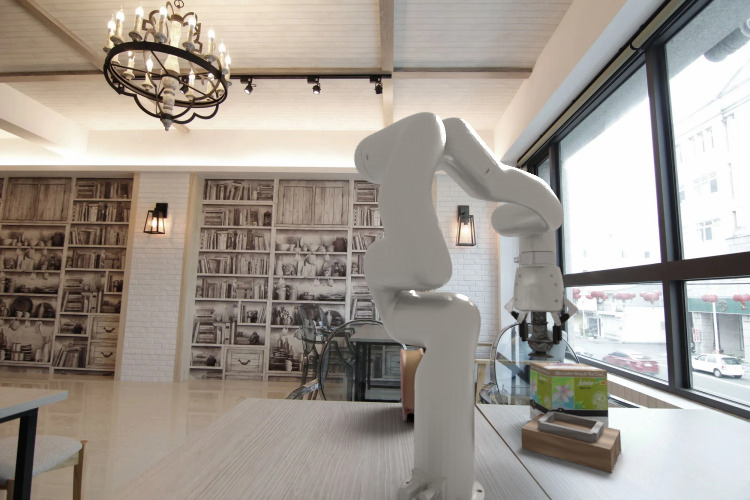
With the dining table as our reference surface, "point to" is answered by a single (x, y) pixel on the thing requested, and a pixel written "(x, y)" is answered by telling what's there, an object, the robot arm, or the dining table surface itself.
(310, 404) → the dining table surface
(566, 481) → the dining table surface
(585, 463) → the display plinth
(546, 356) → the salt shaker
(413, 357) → the face sculpture
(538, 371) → the tea box
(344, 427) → the dining table surface
